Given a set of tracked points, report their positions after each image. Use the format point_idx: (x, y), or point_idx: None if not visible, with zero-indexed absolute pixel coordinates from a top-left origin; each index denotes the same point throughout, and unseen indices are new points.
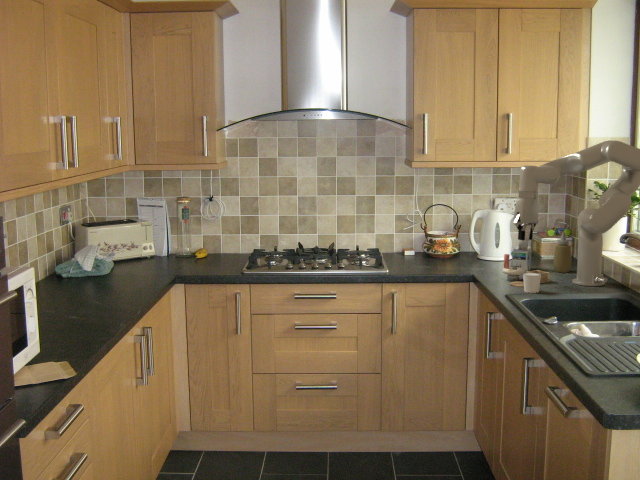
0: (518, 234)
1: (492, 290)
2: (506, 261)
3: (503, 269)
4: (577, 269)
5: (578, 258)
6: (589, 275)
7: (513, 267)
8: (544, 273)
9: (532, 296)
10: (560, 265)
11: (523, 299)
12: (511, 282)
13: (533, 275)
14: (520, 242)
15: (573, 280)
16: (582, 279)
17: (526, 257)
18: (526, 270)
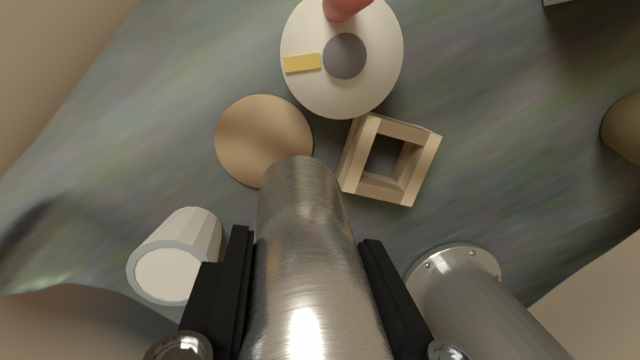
0: (222, 268)
1: (60, 113)
2: (330, 5)
3: (293, 11)
4: (454, 297)
5: (477, 343)
6: (429, 327)
7: (326, 66)
8: (381, 199)
9: (125, 273)
10: (624, 139)
11: (56, 279)
12: (252, 98)
13: (155, 290)
14: (255, 225)
15: (427, 260)
16: (420, 296)
17: None
18: (551, 1)
